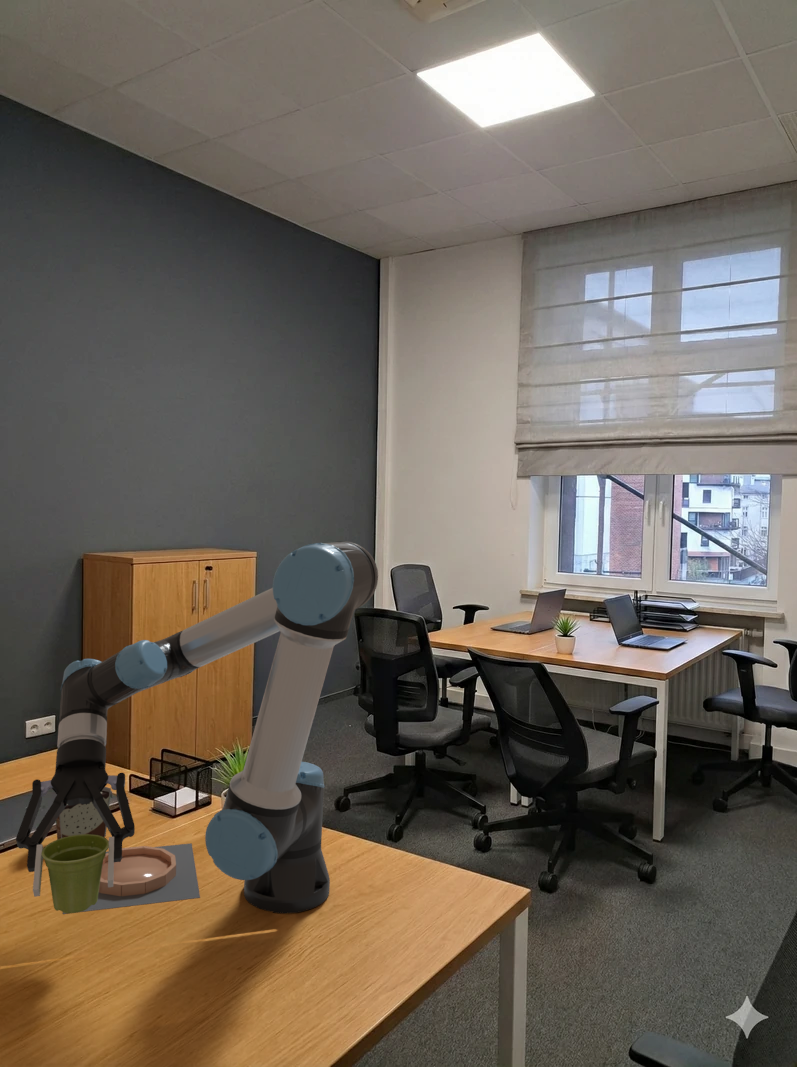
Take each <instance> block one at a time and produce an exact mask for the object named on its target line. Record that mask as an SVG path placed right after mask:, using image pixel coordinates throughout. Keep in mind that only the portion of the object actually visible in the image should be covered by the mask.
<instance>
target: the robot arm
mask: <svg viewBox="0 0 797 1067" xmlns="http://www.w3.org/2000/svg"><path fill="white" fill-rule="evenodd" d="M273 576H274V577H273V580H272V587H271V588H269V589H267V590H264V591H262V592H261V593H259V594H257V595H256V594H255V595H254V596H252V597H249V598H248V599H246V600H244V601H242V602H240V603H238V604H237V603H236V604H235V605H234V606H231V607H229V608H226V609H225V610H222V611H220V612H218V613H216V614H214V615H212V616H210V617H208V618H206V619H204V620H202V621H199V622H197V623H196V624H193V625H191V626H190V627H189V626H188V627H187V628H185V629H183V630H180V631H179V632H176V633H174V634H172V635H169V636H167V637H165V638H163V639H160V640H157V641H153V642H152V641H150V640H148V639H141V640H138V641H137V642H135V643H132V644H130V645H126V646H125V647H123V648H122V650H119V652H117V653H115V654H113V655H111V656H109V657H108V658H106V659H104V660H103V661H101V660H98V659H94V658H83V659H82V660H74V661H73V662H71V663H69V664H68V665H67V666H66V668H65V669H64V671H63V677H62V683H61V686H60V704H59V705H60V707H59V708H60V709H59V718H58V719H59V720H58V721H59V723H58V728H57V729H58V731H57V743H56V745H57V749H56V759H55V770H54V771H55V772H54V775H53V777H52V778H51V779H49V780H43V781H41V780H40V779H34V780H33V781H32V786H31V787H32V789H31V790H32V794H31V797H30V800H29V802H28V805H27V808H26V810H25V813H24V815H23V817H22V821H21V824H20V825H19V829H18V832H17V834H16V838H15V841H16V845H17V848H19V849H26V850H27V861H26V862H27V863H26V867H27V870H28V873H33V872H34V873H33V883H32V892H33V897H40V896H41V888H42V877H43V866H44V865H43V864H44V859H43V857H42V854H41V853H42V850H43V848H44V845H43V842H44V840H45V839H46V837H47V836H48V835H49V833H50V831H51V830H52V827H54V824H56V820H57V818H58V817H59V815H60V813H61V812H63V810H64V809H65V807H66V806H67V804H68V806H72V805H76V804H90V802H92V804H93V805H94V807H95V809H97V811H98V813H99V815H100V816H101V818H102V820H103V821H104V823H105V825H106V827H107V831H108V832H109V834H110V835H111V836H109V837H108V841H109V848H108V850H107V852H108V887H113V879H114V862H121V859H122V848H123V842H124V840H125V839H127V838H128V837H131V838H132V837H133V836H134V835H135V823H134V818H133V815H132V812H131V808H130V804H129V800H128V797H127V793H126V788H125V786H126V774H125V772H119V773H117V775H108V773H107V771H106V765H107V764H106V762H107V748H106V746H107V736H108V735H107V734H108V732H107V730H108V710H109V709H110V708H111V707H113V706H115V705H117V704H120V703H121V702H122V701H124V700H126V699H128V698H130V697H132V696H135V694H137V693H140V692H143V691H145V690H149V689H151V688H153V687H155V686H158V685H161V684H163V683H166V682H169V681H172V680H174V679H177V678H182V677H185V676H187V675H190V674H192V673H193V672H194V671H196V670H198V669H200V668H201V667H204V666H205V665H208V664H211V663H212V662H214V661H217V660H219V659H221V658H223V657H226V656H228V655H229V654H232V653H235V652H237V651H239V650H241V649H244V648H245V647H248V646H250V645H252V644H255V643H257V642H259V641H261V640H264V639H266V638H268V637H271V636H273V635H274V634H277V633H279V632H280V634H279V638H278V641H277V646H276V649H275V652H274V656H273V660H272V662H271V668H270V671H269V673H268V678H267V682H266V686H265V689H264V693H263V697H262V700H261V704H260V708H259V711H258V714H257V715H258V716H257V719H256V722H255V724H254V725H255V726H254V729H253V730H254V731H253V733H252V738H251V741H250V745H249V748H248V751H247V755H246V759H245V762H244V767H243V770H241V771H240V772H238V773H236V774H234V775H233V776H232V778H231V779H230V782H229V785H228V788H227V792H226V796H225V801H224V804H223V807H222V809H221V810H219V811H217V812H216V813H214V816H213V817H212V818H211V819H210V821H209V822H208V824H207V826H206V830H205V835H204V837H205V838H204V839H205V840H204V841H205V842H204V843H205V847H206V852H207V853H208V856H210V857H211V859H212V862H213V863H214V865H215V867H217V869H219V871H220V872H222V874H225V875H226V876H228V877H231V878H233V879H235V880H240V881H244V884H243V896H244V898H245V900H246V901H247V902H248V903H249V904H250V905H251V906H253V907H255V908H257V909H260V910H263V911H268V912H272V913H274V914H295V913H302V912H305V911H309V910H312V909H314V908H316V907H318V906H320V905H321V904H322V903H324V902H326V900H327V898H329V894H330V885H331V883H330V882H331V881H330V880H331V878H330V874H329V871H328V868H327V864H326V862H325V861H326V860H325V857H324V853H323V850H322V836H323V835H322V833H323V814H324V813H323V811H324V791H325V790H324V789H325V784H324V772H323V770H322V769H321V767H319V766H318V765H316V764H313V763H310V762H308V761H306V762H305V761H303V758H304V755H305V750H306V747H307V743H308V741H309V740H308V739H309V736H310V733H311V729H312V725H313V723H314V719H315V715H316V712H317V709H318V708H317V707H318V704H319V700H320V697H321V693H322V690H323V687H324V682H325V679H326V675H327V672H328V669H329V668H328V667H329V665H330V661H331V659H332V658H331V657H332V655H333V650H334V647H335V645H338V644H339V643H341V642H343V641H344V640H345V641H346V639H347V637H348V634H349V629H350V626H351V622H352V620H353V619H352V618H353V616H354V613H355V612H354V611H355V610H357V609H360V607H362V606H364V605H366V604H367V603H368V601H370V600H371V598H372V597H373V596H374V594H375V591H376V589H377V586H378V581H379V570H378V567H377V563H376V561H375V560H374V557H373V555H372V554H371V553H370V552H369V551H368V550H367V549H365V548H364V547H363V546H362V545H359V544H358V543H354V542H352V541H348V540H347V541H345V540H343V541H333V542H325V543H323V542H315V543H309V544H305V545H303V546H301V547H299V548H296V549H295V550H292V551H291V552H290V553H288V554H287V555H286V556H285V557H284V558H283V559H282V560H281V562H280V563H279V565H278V566H277V568H276V571H275V572H274V575H273ZM107 785H110V786H111V787H110V788H111V790H113V791H115V792H116V800H117V803H118V807H119V810H120V815H121V819H122V823H123V827H121V826H120V825H119V823H118V821H117V819H116V818H115V816H114V814H113V812H112V810H111V809H110V806H109V807H108V806H107V804H106V802H105V800H104V799H103V796H102V794H101V791H102V790H103V789H104V787H107ZM50 790H52V791H53V792H54V793H55V794H56V796H55V798H54V799H53V801H54V802H53V801H52V803H51V806H50V807H49V809H48V810H47V812H46V813H45V815H44V817H43V818H42V819H41V821H40V823H39V824H38V826H37V827H36V829H35V830H34V832H33V833H32V834H31V832H32V829H33V827H34V824H35V821H36V820H37V816H38V813H39V810H40V809H41V805H42V802H43V797H45V796H47V795H48V792H49V791H50ZM30 836H31V837H30Z"/></svg>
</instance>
